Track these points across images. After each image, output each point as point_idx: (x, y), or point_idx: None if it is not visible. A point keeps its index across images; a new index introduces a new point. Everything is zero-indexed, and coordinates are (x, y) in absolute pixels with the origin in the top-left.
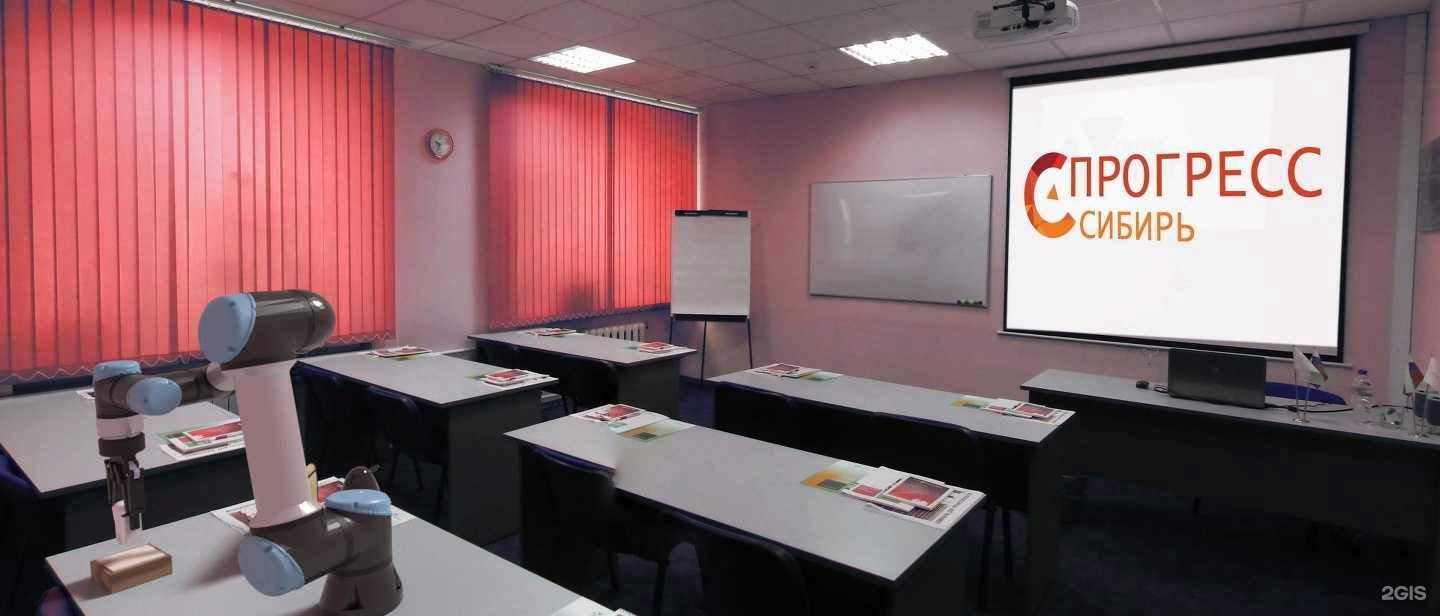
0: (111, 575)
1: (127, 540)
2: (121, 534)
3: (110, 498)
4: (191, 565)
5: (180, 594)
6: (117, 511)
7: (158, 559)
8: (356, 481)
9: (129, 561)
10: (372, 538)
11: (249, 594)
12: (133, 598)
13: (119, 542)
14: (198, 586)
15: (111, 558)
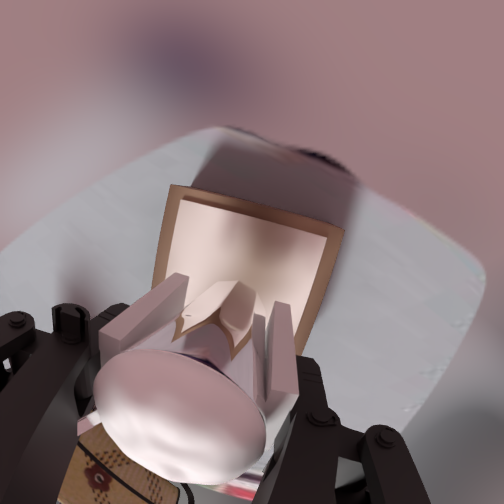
0: (171, 186)
1: (165, 281)
2: (201, 294)
3: (378, 462)
4: None
5: (69, 243)
6: (136, 350)
7: None
8: (60, 502)
9: (204, 264)
10: None
11: (10, 278)
12: (126, 193)
13: (230, 281)
14: (72, 278)
15: (287, 262)
